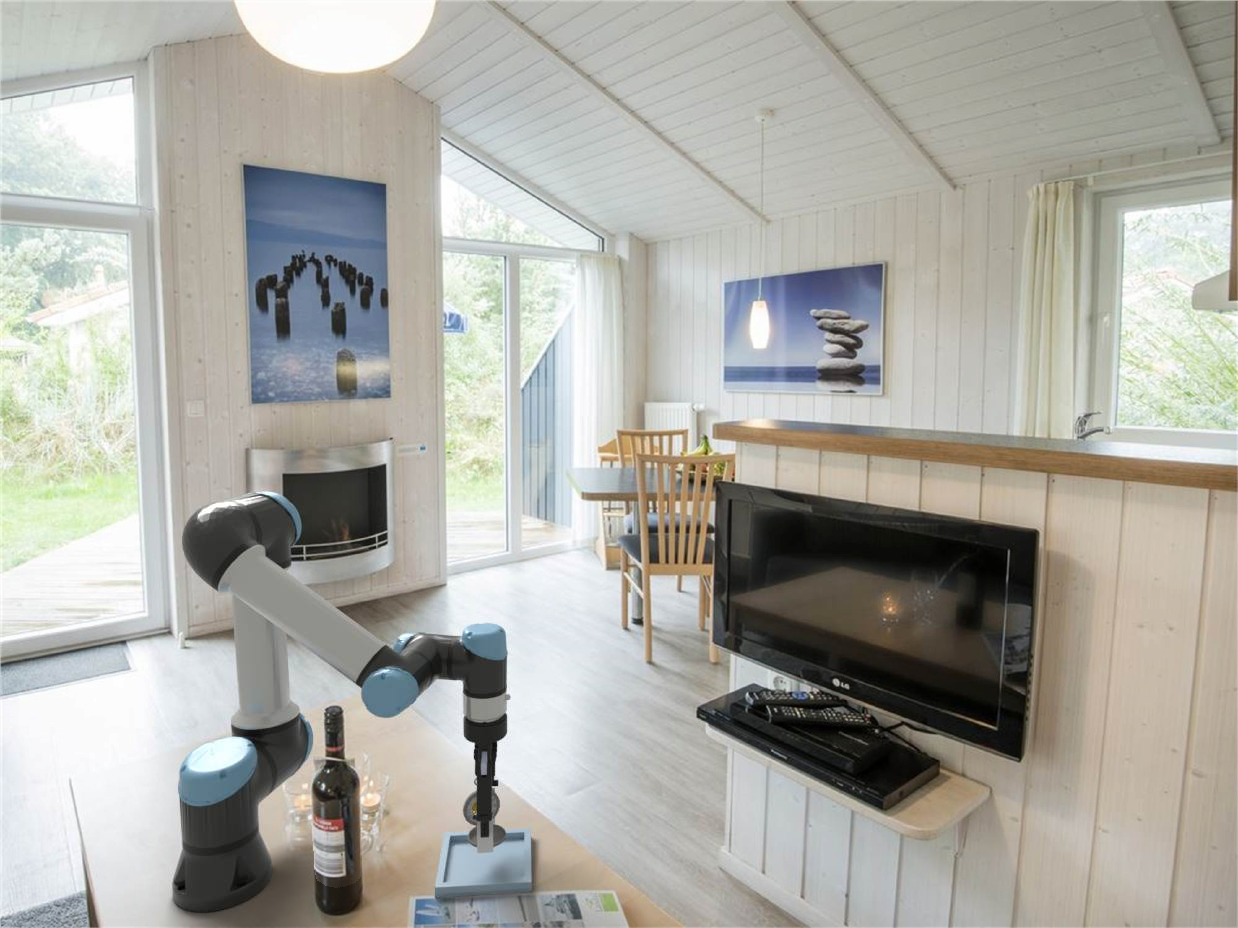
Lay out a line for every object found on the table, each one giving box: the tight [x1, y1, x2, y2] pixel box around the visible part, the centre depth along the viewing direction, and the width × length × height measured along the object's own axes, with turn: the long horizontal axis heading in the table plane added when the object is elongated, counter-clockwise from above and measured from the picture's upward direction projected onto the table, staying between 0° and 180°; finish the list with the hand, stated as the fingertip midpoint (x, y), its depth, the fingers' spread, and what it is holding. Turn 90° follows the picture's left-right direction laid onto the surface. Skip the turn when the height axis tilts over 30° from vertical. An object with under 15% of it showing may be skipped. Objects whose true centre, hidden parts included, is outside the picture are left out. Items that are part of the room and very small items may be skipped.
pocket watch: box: [462, 777, 506, 847], centre depth 142 cm, size 8×8×10 cm
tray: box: [434, 827, 532, 898], centre depth 143 cm, size 16×16×2 cm
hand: (486, 836), depth 142 cm, fingers closed on pocket watch, 8 cm apart
